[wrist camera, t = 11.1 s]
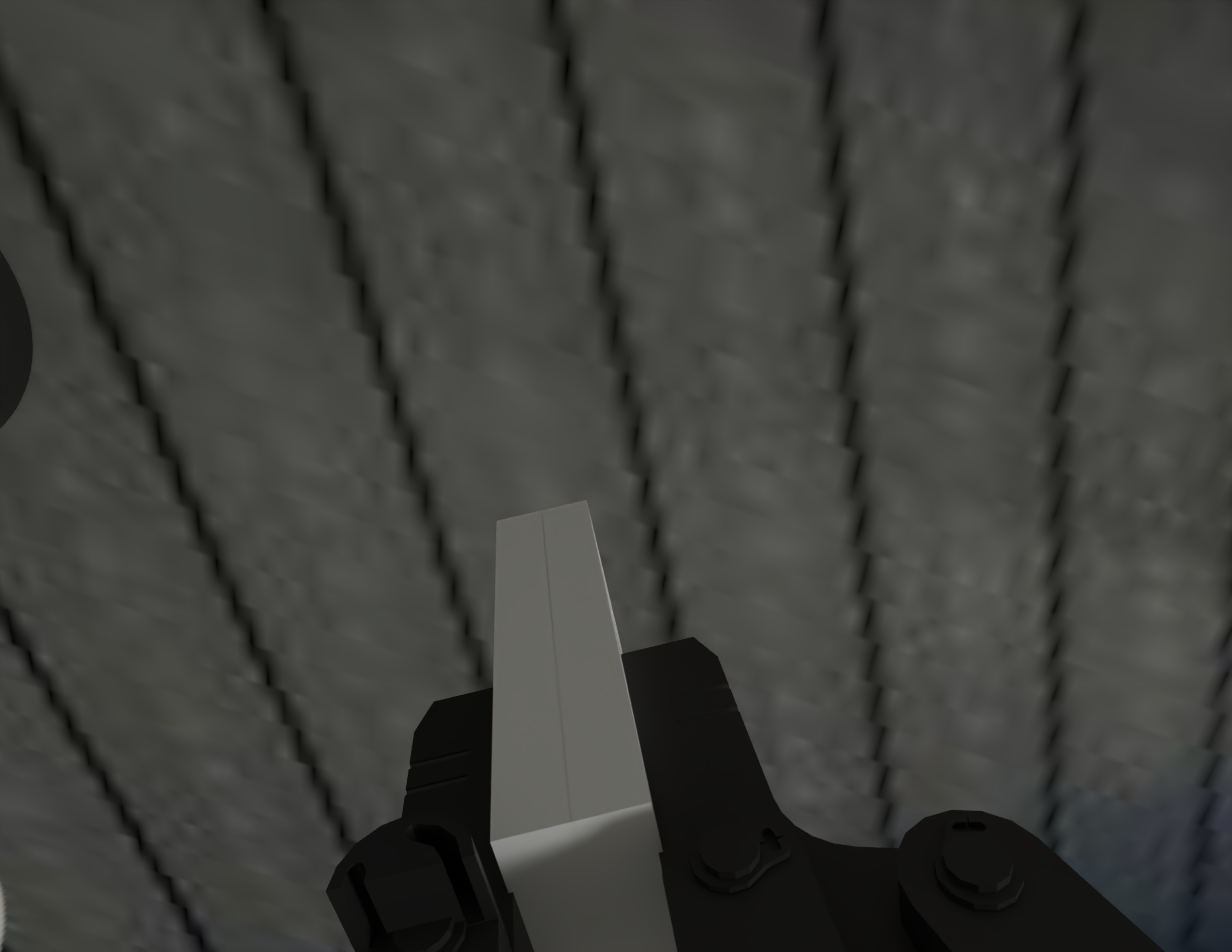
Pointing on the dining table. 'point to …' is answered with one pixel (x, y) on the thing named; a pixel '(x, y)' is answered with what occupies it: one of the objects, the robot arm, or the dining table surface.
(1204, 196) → the dining table surface
